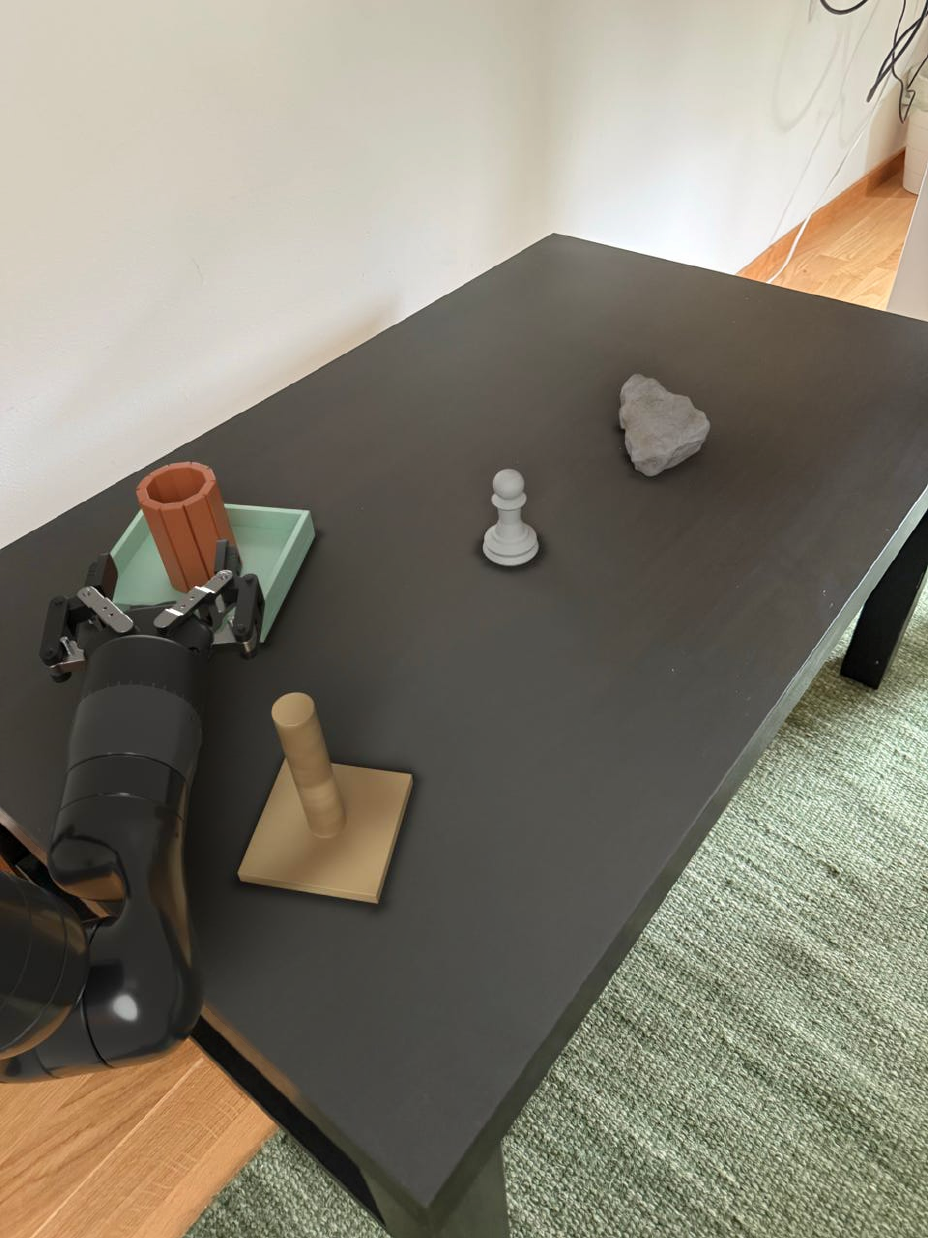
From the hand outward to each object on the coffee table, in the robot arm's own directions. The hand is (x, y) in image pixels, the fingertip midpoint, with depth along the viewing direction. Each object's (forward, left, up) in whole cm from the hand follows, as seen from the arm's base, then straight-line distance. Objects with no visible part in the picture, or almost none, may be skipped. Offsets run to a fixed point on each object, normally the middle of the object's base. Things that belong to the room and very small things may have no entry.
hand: (167, 555), depth 68 cm
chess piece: (+23, +13, -9) cm, 28 cm away
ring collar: (-2, +6, -8) cm, 10 cm away
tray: (-2, +6, -8) cm, 11 cm away
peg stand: (+16, -16, -8) cm, 24 cm away
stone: (+34, +30, -9) cm, 46 cm away
